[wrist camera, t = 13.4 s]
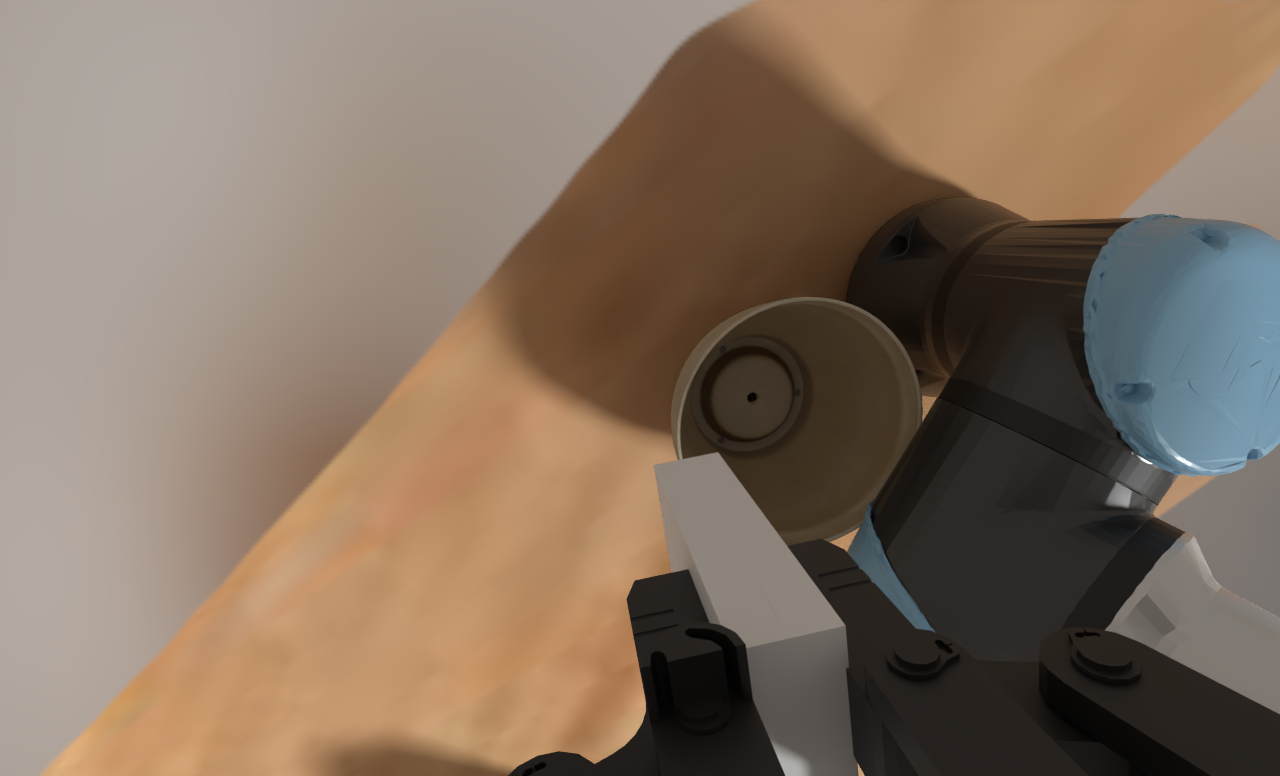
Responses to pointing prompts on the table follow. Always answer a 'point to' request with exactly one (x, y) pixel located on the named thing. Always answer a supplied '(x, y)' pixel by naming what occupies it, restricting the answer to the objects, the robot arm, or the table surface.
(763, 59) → the table surface
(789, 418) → the planter bowl
